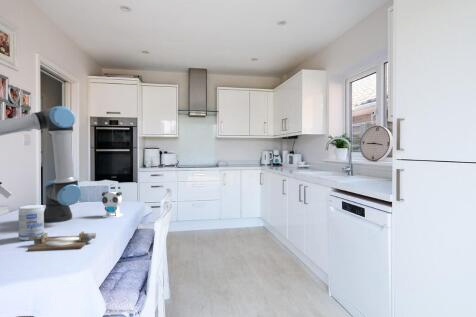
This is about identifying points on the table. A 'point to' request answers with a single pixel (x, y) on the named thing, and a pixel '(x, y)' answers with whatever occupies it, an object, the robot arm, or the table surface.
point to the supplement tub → (31, 221)
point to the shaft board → (60, 242)
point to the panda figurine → (112, 204)
